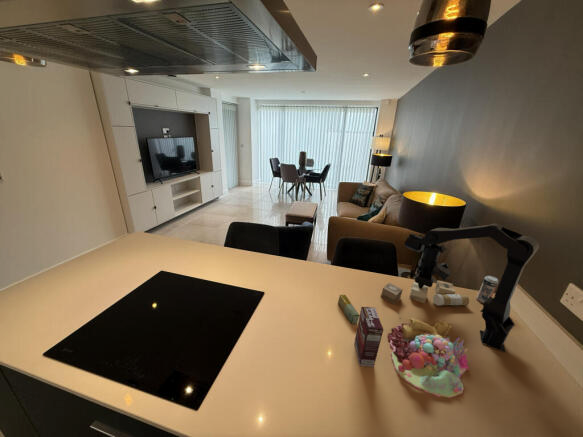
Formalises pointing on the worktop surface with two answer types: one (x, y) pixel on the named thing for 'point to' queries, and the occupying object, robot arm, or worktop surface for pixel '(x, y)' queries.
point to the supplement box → (368, 336)
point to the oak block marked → (444, 288)
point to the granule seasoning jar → (450, 299)
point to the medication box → (348, 309)
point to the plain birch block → (418, 292)
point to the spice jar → (487, 288)
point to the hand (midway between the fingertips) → (420, 287)
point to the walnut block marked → (391, 293)
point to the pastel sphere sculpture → (428, 357)
